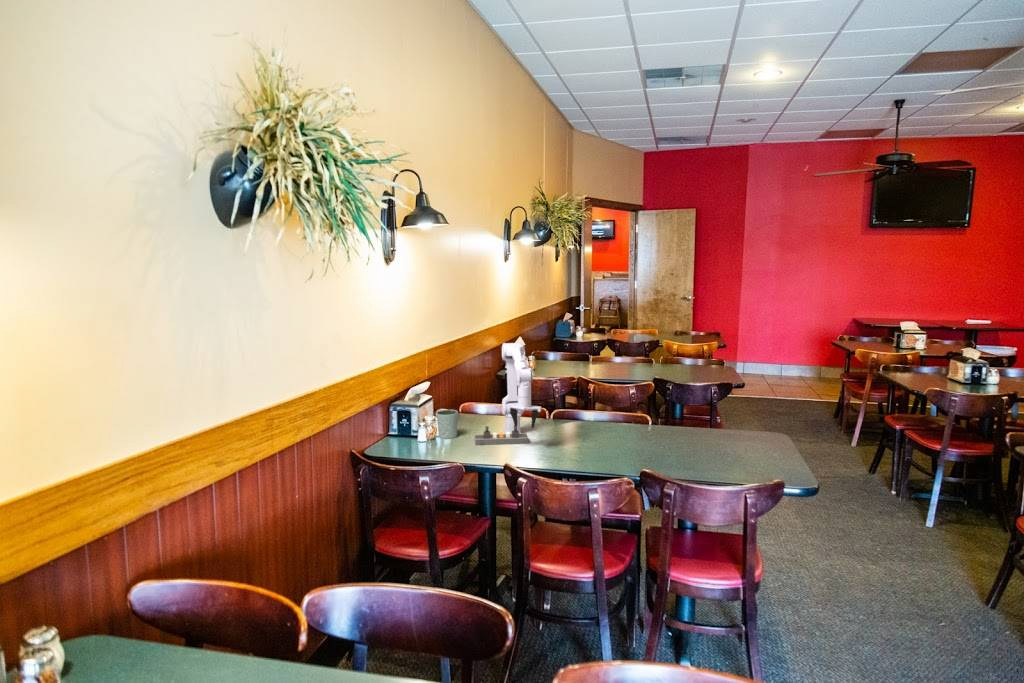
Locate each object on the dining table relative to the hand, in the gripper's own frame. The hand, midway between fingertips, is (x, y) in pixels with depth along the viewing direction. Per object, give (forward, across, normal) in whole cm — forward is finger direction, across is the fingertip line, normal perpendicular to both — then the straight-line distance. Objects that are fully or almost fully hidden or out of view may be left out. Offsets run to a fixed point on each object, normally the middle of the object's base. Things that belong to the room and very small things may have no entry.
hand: (524, 426), depth 270 cm
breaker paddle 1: (+8, -15, +6) cm, 18 cm away
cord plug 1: (+8, -19, +5) cm, 21 cm away
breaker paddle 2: (+8, -10, +8) cm, 15 cm away
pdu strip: (+10, -13, +7) cm, 18 cm away
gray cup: (+10, -40, +10) cm, 42 cm away
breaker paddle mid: (+8, -13, +7) cm, 16 cm away
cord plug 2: (+8, -6, +10) cm, 14 cm away
